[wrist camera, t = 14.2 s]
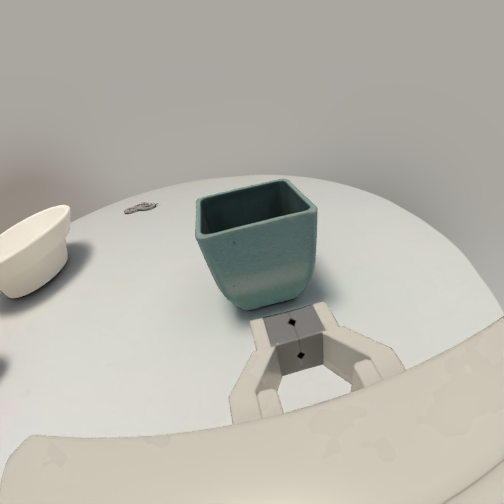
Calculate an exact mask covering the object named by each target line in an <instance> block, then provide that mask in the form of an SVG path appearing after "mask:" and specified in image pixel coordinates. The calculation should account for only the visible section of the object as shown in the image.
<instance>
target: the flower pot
mask: <svg viewBox="0 0 504 504" xmlns="http://www.w3.org/2000/svg"><path fill="white" fill-rule="evenodd" d="M195 237H196V240H197V242H198V244H199V246H200V249H201V251H202V253H203V256H204V258H205V260H206V262H207V265H208V267H209V269H210V271H211V273H212V276H213V278H214V280H215V282H216V284H217V286H218V287H219V289H220V290H221V292H222V293H223V294H224V296H225V297H226V298H227V299H228V300H229V301H231V302H232V303H233V304H235V305H236V306H238V307H240V308H241V309H243V310H252V309H256V308H260V307H263V306H267V305H271V304H275V303H279V302H283V301H286V300H291V299H294V298H296V297H298V296H299V295H300V294H301V292H302V291H303V290H304V288H305V287H306V285H307V284H308V282H309V280H310V278H311V275H312V272H313V269H314V264H315V256H316V238H317V207H316V206H315V205H314V204H313V203H312V202H311V201H310V200H309V199H308V198H306V197H305V196H304V195H303V194H302V193H301V192H300V191H299V190H298V189H297V188H296V187H295V186H294V185H293V184H292V183H291V182H290V181H289V180H287V179H279V180H274V181H269V182H265V183H260V184H256V185H251V186H247V187H243V188H239V189H235V190H230V191H226V192H222V193H218V194H214V195H209V196H206V197H202V198H199V199H197V200H196V229H195Z"/></svg>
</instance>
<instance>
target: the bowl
mask: <svg viewBox="0 0 504 504" xmlns="http://www.w3.org/2000/svg"><path fill="white" fill-rule="evenodd" d="M69 231H70V207H69V206H68V205H60V206H55V207H52V208H49V209H46V210H43V211H41V212H39V213H37V214H34V215H32V216H30V217H28V218H26V219H25V220H23V221H21V222H19V223H18V224H16V225H14V226H13V227H11V228H10V229H8V230H7V231H5V232H4V233H2V234H1V235H0V290H1V291H2V292H3V293H4V294H5V295H6V296H7V297H9V298H19V297H22V296H25V295H27V294H29V293H31V292H33V291H35V290H37V289H38V288H40V287H41V286H43V285H44V284H46V283H47V282H48V281H50V280H51V279H52V278H53V277H54V276H55V275H56V274H57V273H58V272H59V271H60V270H61V269H62V268H63V266H64V265H65V263H66V262H67V259H68V253H67V247H66V240H65V237H66V236H67V235H68V233H69Z"/></svg>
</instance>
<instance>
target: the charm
mask: <svg viewBox="0 0 504 504" xmlns="http://www.w3.org/2000/svg"><path fill="white" fill-rule="evenodd" d="M155 205H157V204H155V203H150V204H149V203H141V204H138V205H135V206H134V207H130V208H127V209H126V210H124V213H130V212H134V211H137V210H147V209H151V208H153V207H155ZM147 206H149V207H147ZM131 209H133V210H131ZM128 210H129V211H128Z"/></svg>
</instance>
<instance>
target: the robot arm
mask: <svg viewBox="0 0 504 504" xmlns="http://www.w3.org/2000/svg"><path fill="white" fill-rule="evenodd" d="M250 326H251V330H252V335H253V339H254V343H255V347H256V351H254V352H253V353H252V354H251V356H250V358H249V360H248V362H247V364H246V366H245V368H244V370H243V372H242V373H241V375H240V377H239V379H238V381H237V383H236V385H235V387H234V388H233V390H232V392H231V394H230V396H229V402H230V409H231V416H232V423H233V425H229V426H224V427H218V428H212V429H206V430H199V431H192V432H184V433H175V434H166V435H154V436H140V437H118V438H80V437H59V436H47V435H31V436H29V437H28V438H27V439H26V440H25V441H24V442H23V443H22V444H21V445H20V446H19V447H18V448H17V449H16V450H15V451H14V452H13V453H12V454H11V455H10V457H9V458H8V460H7V463H6V465H5V468H4V471H3V475H2V479H1V484H0V504H504V316H503V317H502V318H500V319H499V320H497V321H496V322H494V323H492V324H491V325H489V326H488V327H486V328H485V329H483V330H481V331H480V332H478V333H476V334H475V335H473V336H471V337H469V338H468V339H466V340H464V341H463V342H461V343H459V344H457V345H455V346H454V347H452V348H450V349H448V350H446V351H444V352H442V353H440V354H438V355H436V356H435V357H433V358H431V359H429V360H426V361H424V362H422V363H420V364H418V365H416V366H414V367H412V368H410V369H407V370H406V369H405V367H404V366H403V364H402V363H401V361H400V360H399V358H398V357H397V355H396V354H395V352H394V351H393V349H392V348H390V347H388V346H386V345H383V344H381V343H379V342H377V341H374V340H372V339H370V338H368V337H366V336H363V335H361V334H359V333H357V332H355V331H353V330H350V329H348V328H346V327H344V326H343V327H340V326H339V325H338V323H337V321H336V319H335V318H334V316H333V314H332V313H331V311H330V309H329V307H328V306H327V304H326V302H324V301H322V302H318V303H315V304H312V305H309V306H305V307H302V308H298V309H295V310H291V311H288V312H284V313H280V314H275V315H271V316H267V317H263V318H259V319H255V320H250ZM319 365H324V366H325V367H327V368H328V369H330V370H331V371H333V372H334V373H336V374H337V375H338V376H340V377H341V378H343V379H344V380H346V381H347V382H349V383H350V384H352V387H351V393H348V394H345V395H343V396H340V397H337V398H334V399H331V400H328V401H325V402H321V403H318V404H315V405H312V406H308V407H305V408H301V409H298V410H294V411H291V412H287V413H283V409H282V406H281V403H280V399H279V396H278V393H277V390H278V387H279V385H280V382H281V379H282V376H284V375H288V374H291V373H294V372H298V371H301V370H304V369H308V368H312V367H315V366H319Z"/></svg>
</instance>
